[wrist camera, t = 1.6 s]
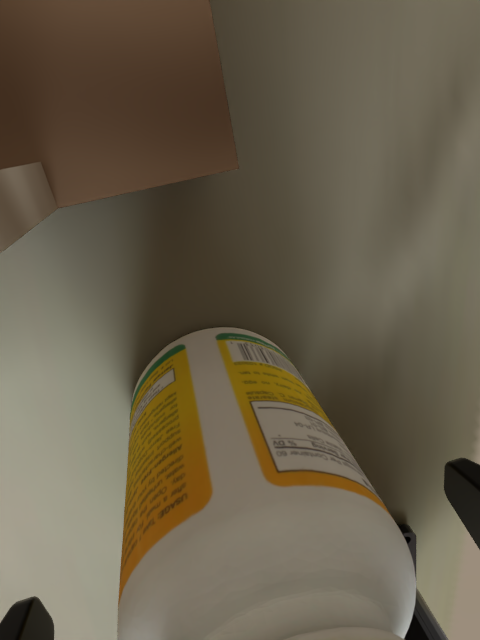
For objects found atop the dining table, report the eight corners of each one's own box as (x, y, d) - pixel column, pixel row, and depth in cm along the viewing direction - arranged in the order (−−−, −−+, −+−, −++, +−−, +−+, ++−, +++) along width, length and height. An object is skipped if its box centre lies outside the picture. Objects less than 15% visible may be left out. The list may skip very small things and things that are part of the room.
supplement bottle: (282, 302, 13) (588, 658, 4) (303, 437, 15) (525, 849, 6) (105, 349, 12) (6, 895, 3) (155, 482, 14) (174, 1008, 6)
